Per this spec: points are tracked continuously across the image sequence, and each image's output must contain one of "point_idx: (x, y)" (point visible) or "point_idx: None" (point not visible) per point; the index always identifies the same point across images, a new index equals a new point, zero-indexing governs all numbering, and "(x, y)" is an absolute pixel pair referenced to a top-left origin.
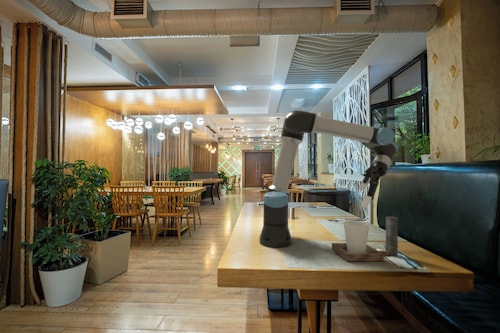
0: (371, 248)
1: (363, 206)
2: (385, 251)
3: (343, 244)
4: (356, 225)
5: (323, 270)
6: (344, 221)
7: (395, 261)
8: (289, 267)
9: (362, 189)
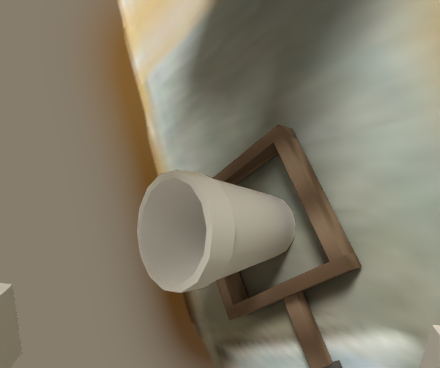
0: (272, 289)
1: (423, 361)
2: (308, 352)
3: (289, 173)
4: (137, 229)
5: (153, 152)
6: (180, 171)
7: (263, 358)
8: (145, 84)
9: (9, 329)
